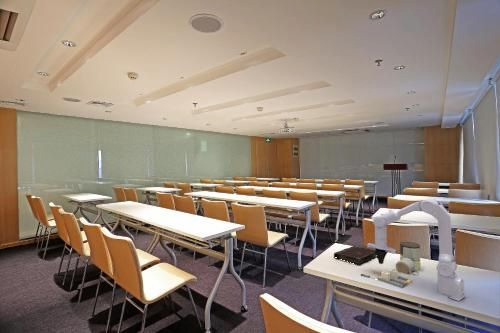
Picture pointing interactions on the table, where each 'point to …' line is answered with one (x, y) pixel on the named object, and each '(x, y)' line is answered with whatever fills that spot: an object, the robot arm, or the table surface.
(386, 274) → the tab
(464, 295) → the robot arm
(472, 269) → the table surface
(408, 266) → the ceramic mug
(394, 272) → the tab
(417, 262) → the coffee can
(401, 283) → the switch bank
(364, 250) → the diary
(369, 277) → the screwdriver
